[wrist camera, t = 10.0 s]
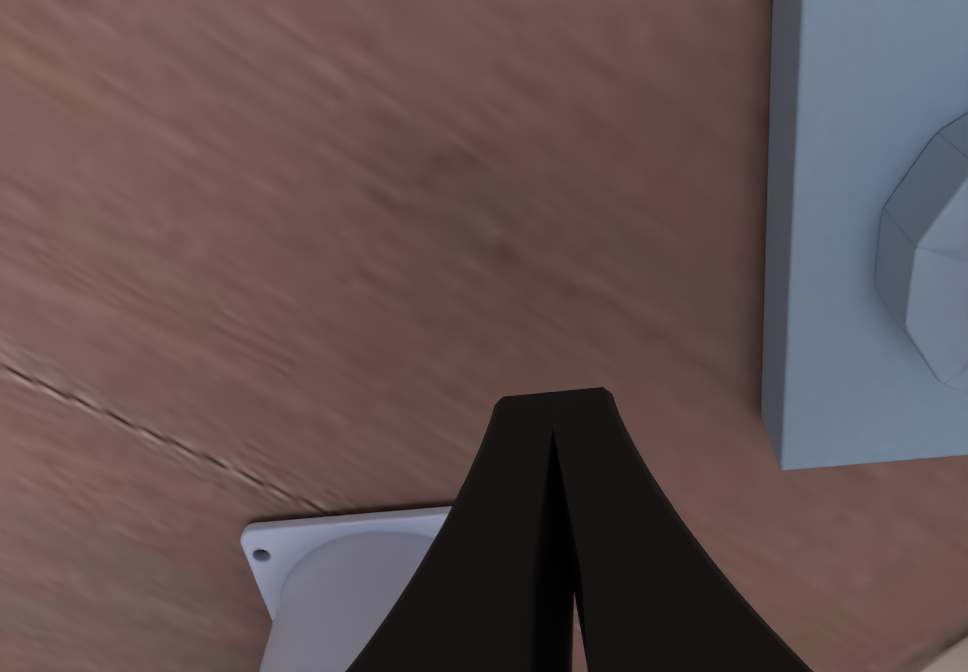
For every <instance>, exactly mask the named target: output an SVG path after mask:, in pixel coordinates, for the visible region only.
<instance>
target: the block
mask: <svg viewBox="0 0 968 672" xmlns="http://www.w3.org/2000/svg"><path fill="white" fill-rule="evenodd" d="M761 418H762V421H763V423H764V426H765V429H766V431H767V434H768V437H769V439H770V442H771V445H772V447H773V450H774V452H775V455H776V458H777V460H778V463H779V466H780V468H781V469H782V470H795V469H806V468H818V467H829V466H841V465H853V464H864V463H876V462H888V461H899V460H911V459H923V458H934V457H946V456H958V455H968V0H773V8H772V43H771V78H770V114H769V149H768V184H767V220H766V255H765V290H764V326H763V361H762V396H761Z"/></svg>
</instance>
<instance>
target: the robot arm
mask: <svg viewBox="0 0 968 672" xmlns="http://www.w3.org/2000/svg"><path fill="white" fill-rule="evenodd" d="M240 540H241V545H242V547H243V550H244V552H245V555H246V557H247V560H248V562H249V565H250V567H251V570H252V572H253V574H254V577H255V579H256V582H257V584H258V587H259V589H260V592H261V594H262V597H263V599H264V601H265V604H266V606H267V609H268V611H269V614H270V616H271V619H272V621H273V625H272V628H271V632H270V635H269V639H268V642H267V646H266V649H265V653H264V656H263V660H262V663H261V666H260V670H259V672H572V651H573V611H574V593H575V599H576V605H577V610H578V616H579V622H580V628H581V633H582V639H583V645H584V651H585V656H586V662H587V668H588V672H814V671H812V670H811V669H810V668H809V667H808V666H807V665H806V664H805V663H804V662H803V661H802V660H801V659H800V658H799V657H798V656H797V655H796V654H795V653H794V652H793V650H792V649H791V648H790V647H789V646H788V645H787V644H786V643H785V642H784V641H783V640H782V639H781V638H780V637H779V636H778V635H777V634H776V633H775V632H774V631H773V630H772V629H771V628H770V627H769V626H768V624H767V623H766V622H765V621H764V620H763V619H762V618H761V617H760V616H759V614H758V613H757V612H756V611H755V610H754V609H753V608H752V607H751V605H750V604H749V603H748V602H747V601H746V600H745V599H744V598H743V597H742V595H741V594H740V593H739V592H738V591H737V590H736V588H735V587H734V586H733V585H732V584H731V582H730V581H729V580H728V579H727V578H726V577H725V575H724V574H723V573H722V572H721V570H720V569H719V568H718V567H717V565H716V564H715V563H714V562H713V560H712V559H711V558H710V557H709V555H708V554H707V553H706V551H705V550H704V549H703V547H702V546H701V545H700V543H699V542H698V541H697V540H696V538H695V537H694V536H693V534H692V533H691V532H690V530H689V529H688V528H687V526H686V525H685V523H684V522H683V521H682V519H681V518H680V516H679V515H678V514H677V512H676V511H675V509H674V508H673V506H672V505H671V503H670V502H669V500H668V499H667V497H666V496H665V494H664V493H663V491H662V489H661V488H660V486H659V485H658V483H657V482H656V480H655V479H654V477H653V476H652V474H651V473H650V471H649V469H648V468H647V466H646V464H645V463H644V461H643V459H642V458H641V456H640V454H639V452H638V450H637V448H636V447H635V445H634V443H633V441H632V439H631V438H630V436H629V434H628V432H627V430H626V428H625V426H624V423H623V421H622V419H621V417H620V414H619V412H618V409H617V407H616V404H615V401H614V398H613V394H611V393H610V392H609V391H607V390H606V389H605V388H603V387H599V388H589V389H578V390H568V391H558V392H547V393H537V394H527V395H516V396H506V397H502V398H501V399H500V400H499V401H498V402H497V403H496V404H495V406H494V409H493V413H492V416H491V419H490V422H489V425H488V428H487V431H486V433H485V436H484V438H483V441H482V443H481V446H480V448H479V451H478V453H477V455H476V458H475V460H474V462H473V464H472V467H471V469H470V471H469V473H468V475H467V477H466V480H465V482H464V484H463V486H462V488H461V490H460V492H459V494H458V496H457V498H456V500H455V502H454V504H453V506H446V507H435V508H423V509H411V510H399V511H388V512H376V513H364V514H352V515H341V516H329V517H317V518H305V519H294V520H282V521H270V522H258V523H252V524H249V525H248V526H246V527H245V528H244V531H243V533H242V536H241V539H240ZM259 549H261V550H265V551H267V552H263V551H261V550H259Z"/></svg>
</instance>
